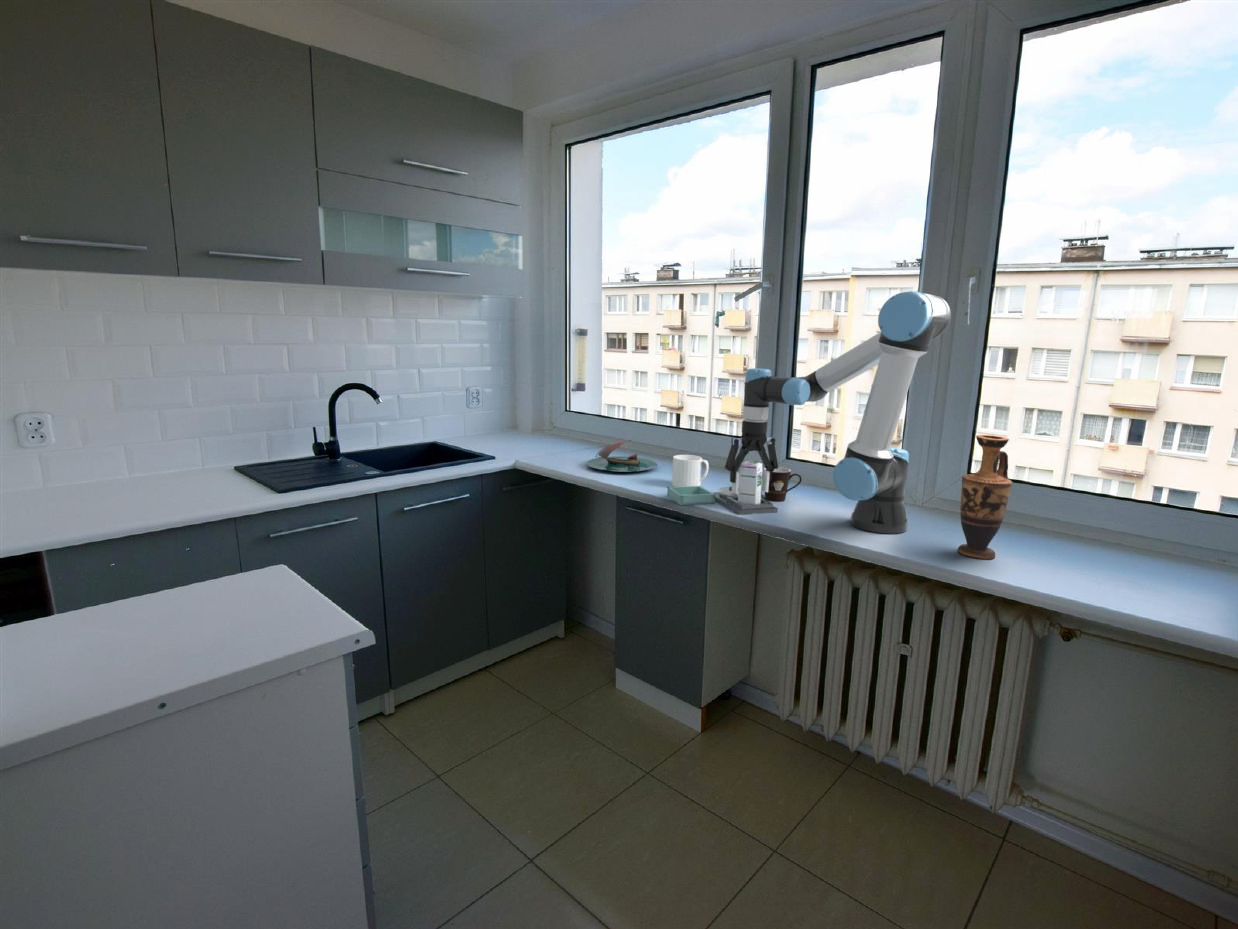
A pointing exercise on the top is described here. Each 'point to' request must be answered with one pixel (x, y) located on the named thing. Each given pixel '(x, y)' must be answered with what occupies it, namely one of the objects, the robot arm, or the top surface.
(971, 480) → the vase
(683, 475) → the mug
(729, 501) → the pulley plate
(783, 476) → the coffee mug
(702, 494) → the tray
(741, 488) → the syrup box
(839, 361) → the robot arm
